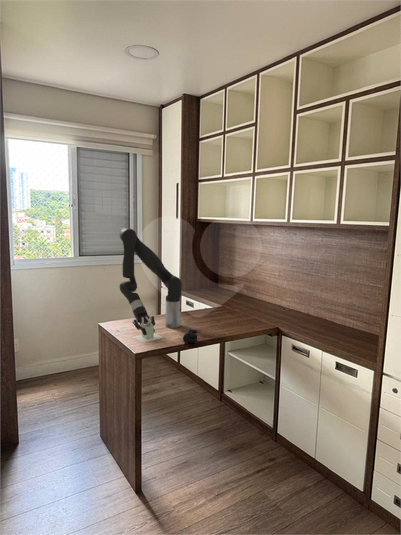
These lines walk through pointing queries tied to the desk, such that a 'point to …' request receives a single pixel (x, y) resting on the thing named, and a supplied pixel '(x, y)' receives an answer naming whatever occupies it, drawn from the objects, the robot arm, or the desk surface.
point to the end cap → (190, 337)
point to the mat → (126, 328)
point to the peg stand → (147, 339)
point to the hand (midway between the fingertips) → (149, 333)
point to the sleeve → (148, 331)
